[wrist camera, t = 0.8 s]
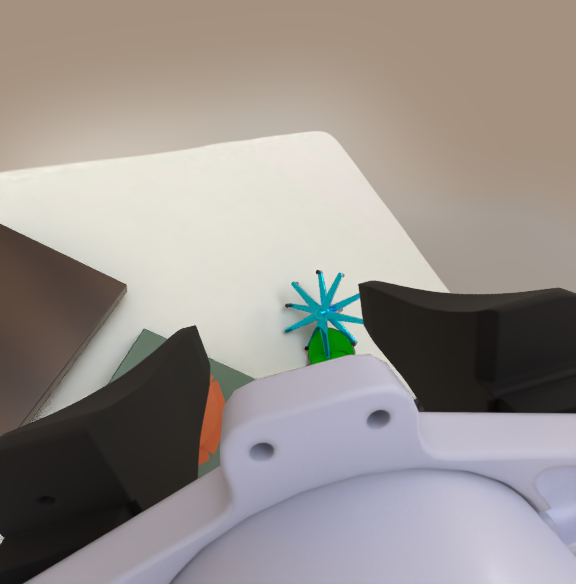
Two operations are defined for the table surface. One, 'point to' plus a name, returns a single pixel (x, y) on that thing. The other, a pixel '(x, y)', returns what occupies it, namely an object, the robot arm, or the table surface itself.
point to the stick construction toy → (326, 339)
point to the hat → (211, 422)
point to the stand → (44, 321)
